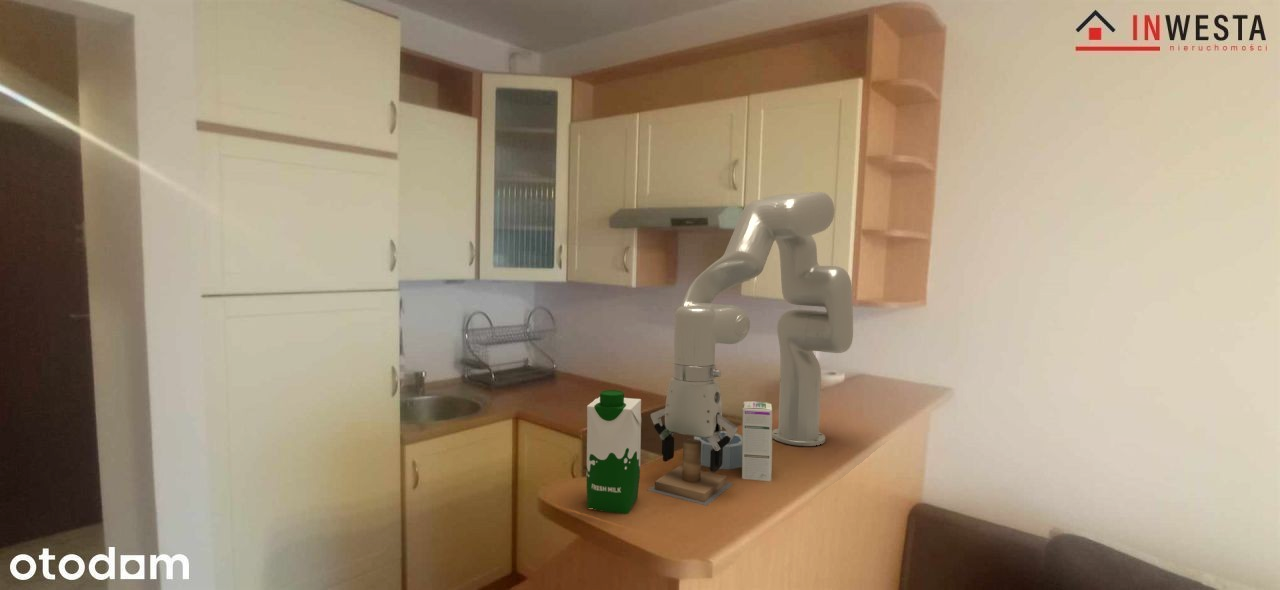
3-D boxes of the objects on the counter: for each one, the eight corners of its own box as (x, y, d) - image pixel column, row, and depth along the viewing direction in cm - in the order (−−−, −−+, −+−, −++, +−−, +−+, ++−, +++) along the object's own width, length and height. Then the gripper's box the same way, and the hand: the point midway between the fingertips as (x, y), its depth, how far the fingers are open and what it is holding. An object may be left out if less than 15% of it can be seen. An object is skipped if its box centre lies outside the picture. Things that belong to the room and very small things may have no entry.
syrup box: (771, 483, 107) (774, 408, 107) (740, 480, 108) (742, 406, 108) (770, 473, 113) (773, 402, 112) (741, 470, 114) (743, 400, 113)
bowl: (707, 449, 127) (707, 428, 126) (753, 459, 121) (754, 436, 121) (685, 463, 117) (685, 440, 117) (734, 474, 112) (735, 449, 111)
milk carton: (580, 513, 93) (582, 393, 92) (596, 492, 101) (598, 383, 100) (631, 519, 91) (634, 397, 90) (643, 497, 99) (646, 386, 99)
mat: (677, 472, 112) (677, 470, 112) (733, 485, 106) (733, 483, 106) (647, 492, 102) (647, 490, 102) (707, 507, 96) (707, 505, 96)
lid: (679, 473, 111) (680, 430, 110) (726, 483, 105) (727, 439, 105) (654, 489, 102) (655, 443, 102) (704, 502, 97) (705, 453, 97)
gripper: (745, 375, 102) (742, 468, 102) (662, 365, 110) (660, 450, 111) (729, 382, 95) (726, 480, 96) (643, 370, 104) (641, 461, 105)
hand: (691, 464), depth 103 cm, fingers open, 9 cm apart
